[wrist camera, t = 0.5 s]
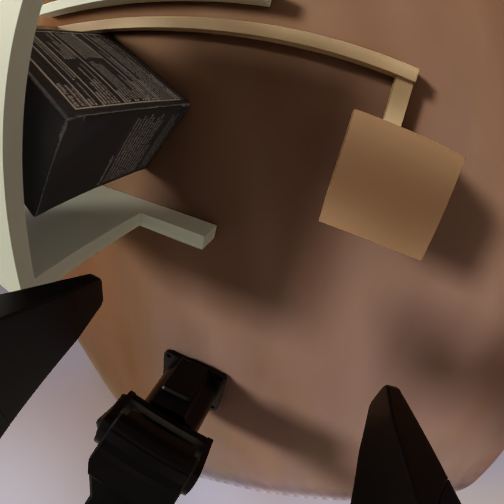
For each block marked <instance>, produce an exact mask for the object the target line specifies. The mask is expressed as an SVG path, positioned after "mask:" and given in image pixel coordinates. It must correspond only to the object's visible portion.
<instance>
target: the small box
mask: <svg viewBox="0 0 504 504" xmlns="http://www.w3.org/2000/svg"><path fill="white" fill-rule="evenodd" d="M189 107H190V102H188V101H187V100H186V99H185V98H184V97H183V96H182V95H180V94H179V93H178V92H177V91H176V90H175V89H174V88H172V87H171V86H170V85H169V84H168V83H167V82H165V81H164V80H163V79H162V78H161V77H160V76H159V75H158V74H156V73H155V72H154V71H152V70H151V69H150V68H149V67H148V66H146V65H145V64H144V63H143V62H141V61H140V60H139V59H138V58H136V57H135V56H134V55H133V54H132V53H130V52H129V51H128V50H126V49H125V48H124V47H123V46H121V45H120V44H119V43H118V42H116V41H115V40H113V39H112V38H111V37H109V36H108V35H107V34H106V33H95V32H80V31H68V30H52V29H36V31H35V36H34V40H33V45H32V51H31V56H30V62H29V69H28V76H27V83H26V92H25V102H24V115H23V136H22V172H23V194H24V204H25V206H26V207H27V209H28V210H29V211H30V213H31V214H32V216H34V217H37V216H38V215H40V214H42V213H44V212H46V211H48V210H49V209H51V208H53V207H55V206H57V205H60V204H62V203H64V202H66V201H68V200H70V199H72V198H75V197H77V196H79V195H81V194H83V193H85V192H88V191H90V190H92V189H94V188H97V187H99V186H102V185H104V184H106V183H109V182H111V181H114V180H116V179H119V178H121V177H124V176H126V175H129V174H131V173H134V172H136V171H139V170H142V169H145V168H146V167H147V166H148V165H149V163H150V162H151V160H152V159H153V157H154V156H155V155H156V153H157V152H158V150H159V149H160V147H161V146H162V145H163V143H164V142H165V140H166V139H167V137H168V136H169V135H170V133H171V132H172V130H173V129H174V128H175V126H176V125H177V124H178V122H179V121H180V120H181V118H182V117H183V116H184V114H185V113H186V112H187V110H188V109H189Z"/></svg>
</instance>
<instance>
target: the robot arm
mask: <svg viewBox="0 0 504 504" xmlns="http://www.w3.org/2000/svg"><path fill="white" fill-rule="evenodd" d="M102 302H103V292H102V281H101V279H100V278H98V277H96V276H94V275H92V274H87V275H83V276H78V277H74V278H69V279H65V280H61V281H56V282H52V283H47V284H43V285H39V286H34V287H30V288H26V289H21V290H17V291H13V292H9V293H5V294H0V438H1V437H2V435H3V434H4V432H5V431H6V430H7V428H8V427H9V425H10V424H11V422H12V421H13V420H14V418H15V417H16V416H17V414H18V413H19V412H20V410H21V409H22V408H23V406H24V405H25V404H26V402H27V401H28V400H29V398H30V397H31V396H32V394H33V393H34V392H35V390H36V389H37V388H38V387H39V386H40V384H41V383H42V382H43V380H44V379H45V378H46V377H47V375H48V374H49V373H50V372H51V371H52V369H53V368H54V367H55V366H56V364H57V363H58V362H59V361H60V360H61V358H62V357H63V356H64V355H65V354H66V352H67V351H68V350H69V349H70V347H71V346H72V345H73V344H74V343H75V342H76V340H77V339H78V338H79V336H80V335H81V334H82V332H83V331H84V329H85V328H86V326H87V325H88V323H89V322H90V321H91V319H92V318H93V316H94V315H95V313H96V312H97V311H98V309H99V308H100V306H101V305H102ZM226 379H227V377H226V375H225V374H223V373H221V372H218V371H216V370H214V369H211V368H209V367H207V366H204V365H202V364H200V363H198V362H195V361H193V360H191V359H189V358H187V357H184V356H182V355H180V354H178V353H176V352H174V351H172V350H166V352H165V353H164V371H163V376H162V377H161V378H160V380H159V381H158V383H157V384H156V385H155V387H154V388H153V390H152V391H151V393H150V394H149V395H148V397H147V398H146V400H143V399H142V398H140V397H139V396H137V395H136V393H135V392H133V391H132V390H131V391H130V392H129V393H128V394H127V395H126V394H122V395H121V397H120V398H119V399H118V401H117V402H116V403H115V404H114V406H112V407H111V408H110V409H109V410H108V411H107V412H106V413H104V414H103V415H102V416H101V417H100V418H99V419H98V420H97V422H96V424H97V428H98V429H97V432H96V436H95V438H94V441H95V442H96V443H98V445H97V447H96V448H95V450H94V452H93V453H92V455H91V456H90V458H89V462H88V474H89V480H90V496H89V498H88V499H87V501H86V502H85V504H174V503H175V502H176V500H177V498H178V497H179V495H180V494H183V495H186V494H187V493H188V492H189V491H190V490H191V489H192V487H193V486H194V484H195V483H196V481H197V480H198V478H199V476H200V474H201V472H202V469H203V467H204V464H205V461H206V459H207V456H208V453H209V451H210V448H211V445H212V443H213V439H211V438H209V437H208V438H207V437H205V436H203V435H201V434H199V433H198V430H199V428H200V426H201V425H202V423H203V421H204V419H205V417H206V415H207V413H208V411H209V409H213V410H216V409H217V407H218V405H219V402H220V399H221V395H222V392H223V389H224V386H225V383H226ZM447 479H448V477H447V475H446V473H445V472H444V470H443V468H442V466H441V464H440V462H439V460H438V458H437V456H436V454H435V452H434V451H433V449H432V447H431V445H430V443H429V441H428V439H427V438H426V436H425V434H424V432H423V430H422V428H421V427H420V425H419V423H418V421H417V419H416V418H415V416H414V414H413V412H412V411H411V409H410V407H409V405H408V404H407V402H406V400H405V398H404V397H403V395H402V393H401V392H400V390H399V389H398V388H397V387H394V386H390V385H385V386H384V387H383V388H382V389H381V390H380V391H379V393H378V394H377V395H376V397H375V398H374V399H373V400H372V402H371V404H370V406H369V410H368V415H367V419H366V424H365V428H364V433H363V437H362V441H361V445H360V450H359V455H358V462H357V469H356V475H355V482H354V488H353V493H352V499H351V504H461V503H460V501H459V499H458V497H457V495H456V493H455V491H454V489H453V487H452V485H451V483H450V481H449V480H447Z"/></svg>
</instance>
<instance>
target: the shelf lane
mask: <svg viewBox="0 0 504 504" xmlns="http://www.w3.org/2000/svg"><path fill="white" fill-rule="evenodd" d="M161 1H210V2H227V3H239V4H249V5H258V6H265V7H270V5H271V1H272V0H57V1H54V2H51V3H47V4H44V5H42V3H43V0H0V284H1V285H2V286H3V287H4V288H5V289H7V290H8V291H9V292H13V291H17V290H21V289H26V288H30V287H34V286H39V285H43V284H47V283H52V282H56V281H57V280H59V279H60V278H62V277H63V276H64V275H66V274H67V273H69V272H70V271H72V270H73V269H74V268H76V267H77V266H79V265H80V264H82V263H83V262H85V261H86V260H87V259H89V258H90V257H92V256H93V255H95V254H96V253H98V252H99V251H101V250H102V249H104V248H105V247H107V246H108V245H110V244H111V243H113V242H115V241H116V240H118V239H119V238H121V237H122V236H124V235H125V234H127V233H129V232H130V231H132V230H133V229H135V228H136V227H138V226H142V227H145V228H147V229H150V230H152V231H155V232H157V233H160V234H162V235H165V236H168V237H170V238H173V239H175V240H178V241H180V242H183V243H186V244H188V245H191V246H193V247H196V248H199V249H201V250H202V249H203V248H204V247H205V246H206V245H208V244H209V243H210V242H211V241H212V240H213V239H214V237H215V232H216V227H217V225H214V224H212V223H209V222H206V221H203V220H200V219H197V218H195V217H192V216H189V215H186V214H183V213H180V212H178V211H175V210H172V209H169V208H166V207H163V206H160V205H158V204H155V203H152V202H149V201H146V200H143V199H140V198H137V197H135V196H132V195H129V194H126V193H123V192H120V191H117V190H114V189H111V188H108V187H105V186H103V185H102V186H99V187H97V188H94V189H92V190H90V191H88V192H85V193H83V194H81V195H79V196H77V197H75V198H72V199H70V200H68V201H66V202H64V203H62V204H60V205H57V206H55V207H53V208H51V209H49V210H48V211H46V212H44V213H42V214H40V215H38V216H37V217H34V216H32V214H31V213H30V211H29V210H28V209H27V207H26V206H25V204H24V194H23V172H22V136H23V115H24V102H25V92H26V83H27V76H28V69H29V62H30V56H31V51H32V45H33V40H34V36H35V31H36V27H37V22H38V18H39V16H43V17H55V16H59V15H63V14H68V13H72V12H77V11H82V10H88V9H94V8H100V7H107V6H114V5H122V4H132V3H144V2H161Z"/></svg>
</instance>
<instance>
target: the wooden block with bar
mask: <svg viewBox="0 0 504 504" xmlns="http://www.w3.org/2000/svg"><path fill="white" fill-rule="evenodd" d="M36 29H52V30H68V31H80V32H95V33H102V32H118V31H182V32H197V33H209V34H219V35H228V36H236V37H243V38H249V39H256V40H262V41H267V42H273V43H278V44H283V45H287V46H292V47H296V48H301V49H305V50H309V51H313V52H317V53H320V54H324V55H328V56H331V57H335V58H338V59H341V60H345V61H348V62H351V63H354V64H357V65H360V66H363V67H366V68H369V69H372V70H375V71H377V72H380V73H383V74H385V75H388V76H391V77H393V78H394V80H393V84H392V88H391V91H390V94H389V98H388V101H387V105H386V108H385V111H384V115H383V118H382V119H381V118H378V117H376V116H373V115H371V114H368V113H365V112H362V111H360V110H357V109H355V110H353V111H352V114H351V117H350V121H349V124H348V127H347V131H346V134H345V137H344V140H343V143H342V146H341V150H340V153H339V156H338V159H337V162H336V165H335V168H334V171H333V174H332V177H331V180H330V183H329V187H328V190H327V194H326V197H325V201H324V204H323V207H322V211H321V214H320V218H319V221H320V222H322V223H325V224H328V225H330V226H333V227H336V228H339V229H341V230H344V231H347V232H349V233H352V234H354V235H357V236H360V237H362V238H365V239H367V240H370V241H373V242H375V243H378V244H380V245H383V246H385V247H388V248H390V249H393V250H395V251H398V252H400V253H403V254H405V255H407V256H410V257H412V258H415V259H417V260H420V261H421V260H422V258H423V256H424V254H425V252H426V250H427V248H428V246H429V244H430V242H431V239H432V237H433V235H434V233H435V231H436V229H437V227H438V225H439V222H440V220H441V218H442V216H443V213H444V211H445V209H446V206H447V204H448V202H449V199H450V197H451V195H452V192H453V190H454V187H455V185H456V182H457V179H458V177H459V174H460V172H461V169H462V166H463V163H464V161H465V157H463V156H462V155H460V154H458V153H456V152H454V151H452V150H450V149H448V148H446V147H444V146H442V145H440V144H438V143H436V142H434V141H432V140H430V139H428V138H425V137H423V136H421V135H419V134H417V133H414V132H412V131H410V130H408V129H405V128H403V127H401V124H402V121H403V118H404V115H405V112H406V108H407V105H408V102H409V98H410V95H411V91H412V88H413V84H414V83H415V82H416V79H417V75H418V72H419V69H418V68H415V67H413V66H411V65H408V64H406V63H403V62H401V61H398V60H396V59H393V58H391V57H388V56H385V55H383V54H380V53H377V52H374V51H371V50H369V49H366V48H363V47H359V46H356V45H353V44H350V43H347V42H343V41H340V40H336V39H333V38H329V37H325V36H321V35H317V34H313V33H309V32H305V31H300V30H295V29H290V28H285V27H280V26H274V25H269V24H262V23H256V22H248V21H240V20H231V19H221V18H208V17H188V16H148V17H128V18H116V19H106V20H97V21H89V22H82V23H76V24H70V25H64V26H59V27H52V26H37V27H36Z"/></svg>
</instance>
